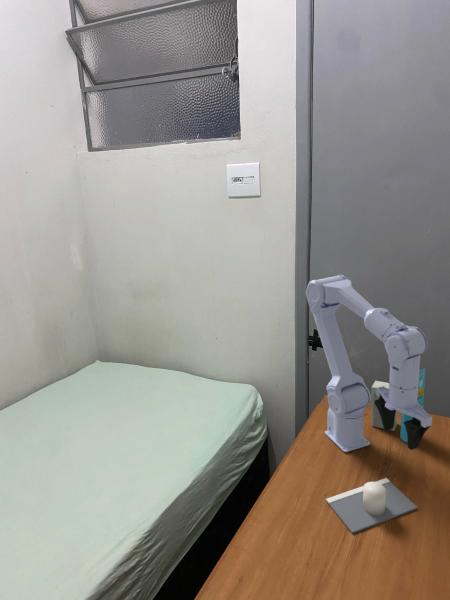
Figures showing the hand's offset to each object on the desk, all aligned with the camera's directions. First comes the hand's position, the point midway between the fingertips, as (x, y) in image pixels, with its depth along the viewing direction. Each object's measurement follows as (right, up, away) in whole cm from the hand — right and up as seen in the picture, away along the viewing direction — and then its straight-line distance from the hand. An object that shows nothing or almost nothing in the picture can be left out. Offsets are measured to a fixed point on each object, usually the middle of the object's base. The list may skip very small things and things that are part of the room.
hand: (400, 438), depth 91 cm
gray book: (-8, -13, -4) cm, 16 cm away
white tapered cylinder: (-8, -13, -6) cm, 16 cm away
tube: (+10, -6, +16) cm, 20 cm away
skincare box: (+5, -4, +23) cm, 24 cm away
